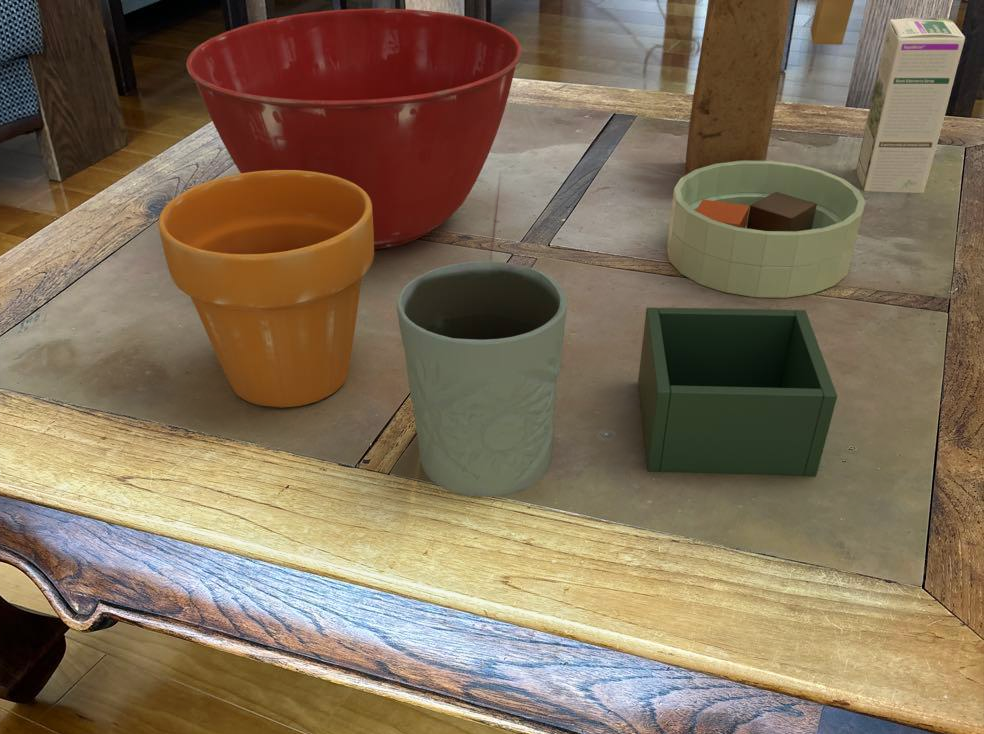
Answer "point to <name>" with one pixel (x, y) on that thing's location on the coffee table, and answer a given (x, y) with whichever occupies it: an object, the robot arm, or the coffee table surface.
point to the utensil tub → (733, 392)
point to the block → (736, 81)
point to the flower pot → (274, 277)
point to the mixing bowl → (364, 104)
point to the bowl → (764, 254)
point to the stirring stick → (831, 21)
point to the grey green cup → (483, 373)
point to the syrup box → (909, 104)
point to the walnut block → (781, 214)
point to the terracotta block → (724, 212)
